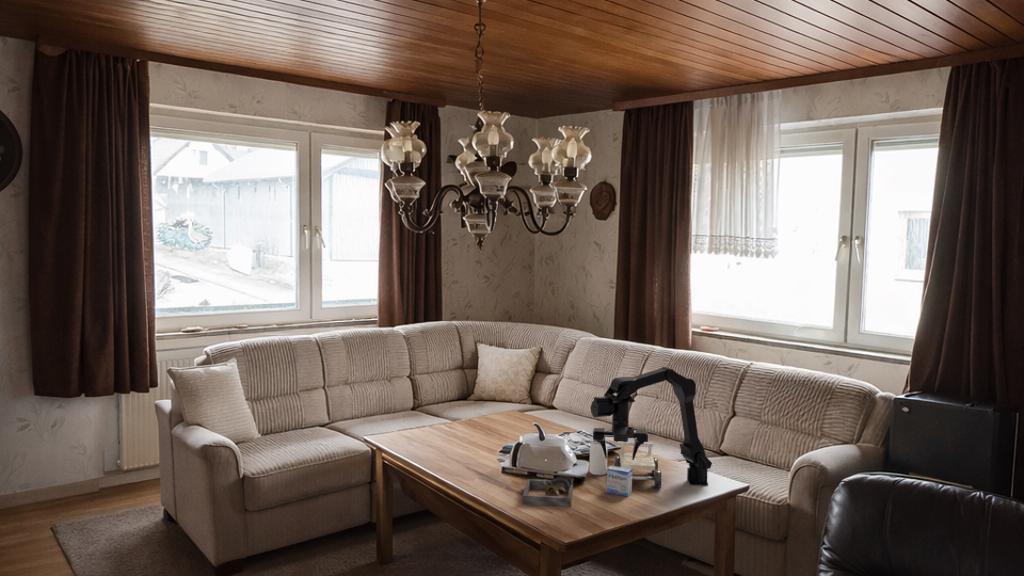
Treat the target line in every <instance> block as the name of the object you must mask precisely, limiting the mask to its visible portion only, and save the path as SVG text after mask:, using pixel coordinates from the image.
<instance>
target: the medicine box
mask: <svg viewBox="0 0 1024 576" xmlns="http://www.w3.org/2000/svg"><path fill="white" fill-rule="evenodd" d="M632 476H633V469H628V468H622V467H621V466H620V467H616V466H614V465H610V466H609V467H607V473H606V493H607V494H610V493H611V494H613V495H617V496H623V495H624V497H629V496H631V494H632V488H633V487H632V486H633V479H632ZM630 493H631V494H630Z"/></svg>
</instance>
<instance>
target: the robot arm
mask: <svg viewBox="0 0 1024 576" xmlns="http://www.w3.org/2000/svg"><path fill="white" fill-rule="evenodd" d="M665 381H666V382H667V383H669V384H671V386H672V389H673V393H674V395H675V397H676V398H677V400H678V402H679V408H680V415H681V422H682V430H683V435H684V440H683V442H681V443H679V448H680V455H682V457H683V459H684V460H685V462H686V463H687V464H688V467H687V468H686V480H687V482H688V483H689V485H699V486H709V482H708V472H709V471H708V469H709V470H710V469H711V467H712V466H713V463H712V461H711V460H710V459H709V458H708V457H707V454H706V450H705V447H704V445H703V444H702V442H701V440H700V439H699V432H698V426H697V417H696V412H695V406H694V405H695V403H694V401H695V397H696V394H697V384H696V381H695V380H693V379H692V378H690V377H687V376H684V375H681V374H680V373H678V372H676V370H674V369H673V368H671V367H667V366H662V367H660V368H658V369H655V370H651V371H647V372H646V373H645V372H644V373H642V374H641V373H640V374H638V375H634V376H622V377H615V378H613V379H612V380H611V383H610V384H609V387H608V389H607V390H606V391H605V393H604V394H603V396H600V397H599V396H594V397H593V400H592V401H591V404H590V413H591V415H592V417H593V418H604V417H605V418H606V417H612V419H611V431H610V430H609V431H605V428H603V427H594V428H593V430H592V440H597V442H600V444H601V446H602V448H603V451H604V455H605V458H606V459H607V460H608V449H607V450H606V444H607V441H606V438H613V441H614V442H615V443H620V442H629V439H634V440H633V442H634V446H632V453H633V454H632V460H634V458H635V455H636V453H638V450H639V448H640V445H641V444H644V443H649V433H648V431H647V430H646V429H635V427H633V426H630V424H629V423H630V403H635V402H636V400H635V399H634V398H633V396H632V395H633V394H636V393H637V391H638V390H640V389H642V388H646V387H648V386H652V385H655V384H658V383H661V382H665Z"/></svg>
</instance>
